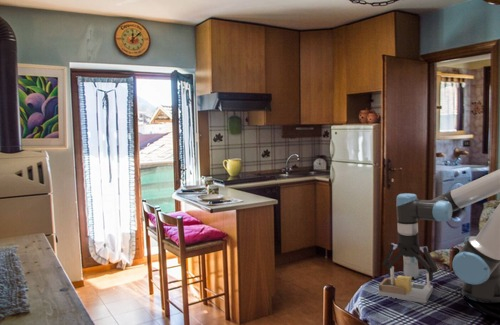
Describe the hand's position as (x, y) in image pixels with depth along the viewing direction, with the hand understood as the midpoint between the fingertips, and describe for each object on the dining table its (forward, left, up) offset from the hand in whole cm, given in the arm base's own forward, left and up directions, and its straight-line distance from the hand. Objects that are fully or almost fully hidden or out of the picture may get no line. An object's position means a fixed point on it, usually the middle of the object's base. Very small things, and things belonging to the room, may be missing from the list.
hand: (410, 286), depth 157 cm
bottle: (+5, -21, -4) cm, 22 cm away
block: (+3, 0, -2) cm, 3 cm away
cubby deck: (+3, -2, -4) cm, 5 cm away
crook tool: (+7, -7, -2) cm, 10 cm away
